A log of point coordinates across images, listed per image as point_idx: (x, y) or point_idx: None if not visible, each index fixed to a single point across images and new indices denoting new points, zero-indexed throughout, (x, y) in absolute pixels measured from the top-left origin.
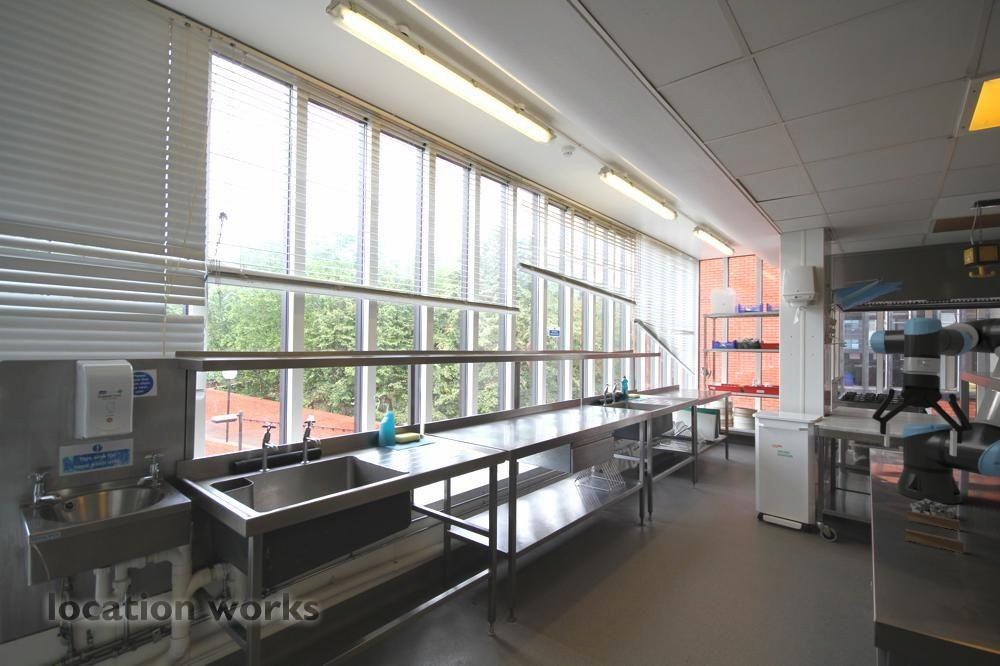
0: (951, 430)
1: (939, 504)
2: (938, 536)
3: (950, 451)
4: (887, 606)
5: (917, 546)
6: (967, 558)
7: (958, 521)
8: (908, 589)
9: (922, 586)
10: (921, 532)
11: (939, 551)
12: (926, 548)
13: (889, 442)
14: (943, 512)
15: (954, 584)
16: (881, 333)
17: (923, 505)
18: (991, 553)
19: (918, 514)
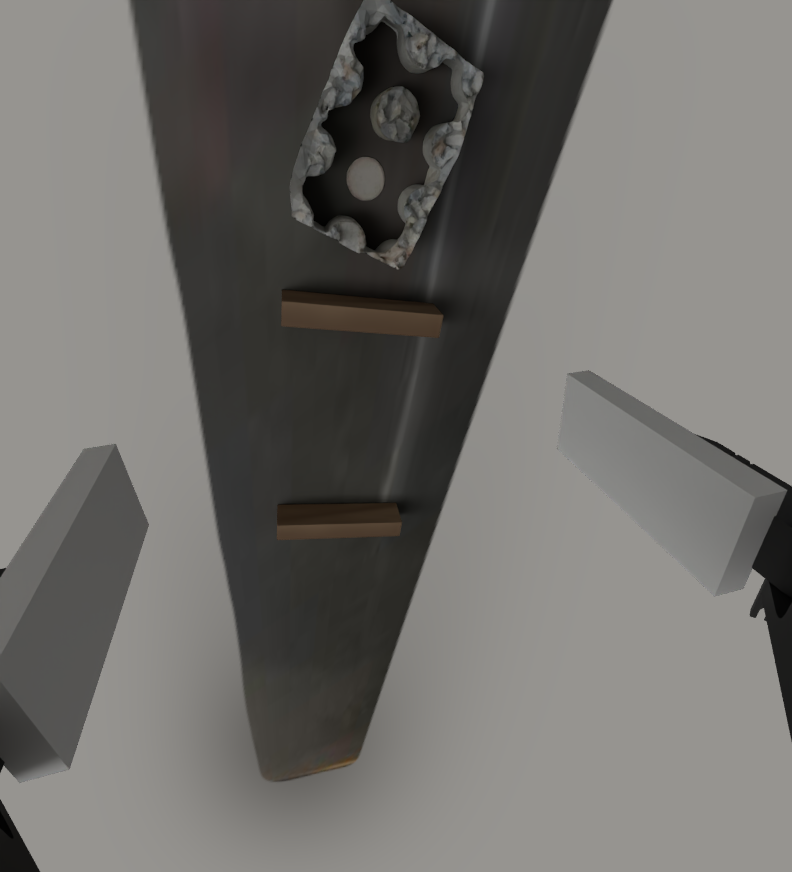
0: (754, 513)
1: (424, 50)
2: (352, 528)
3: (581, 405)
4: (261, 758)
5: None
6: None
7: (436, 332)
8: (285, 710)
9: (303, 691)
10: (315, 526)
11: None
12: None
13: (137, 557)
14: (416, 189)
15: (349, 657)
16: None
17: (349, 103)
18: (455, 468)
19: (317, 328)
